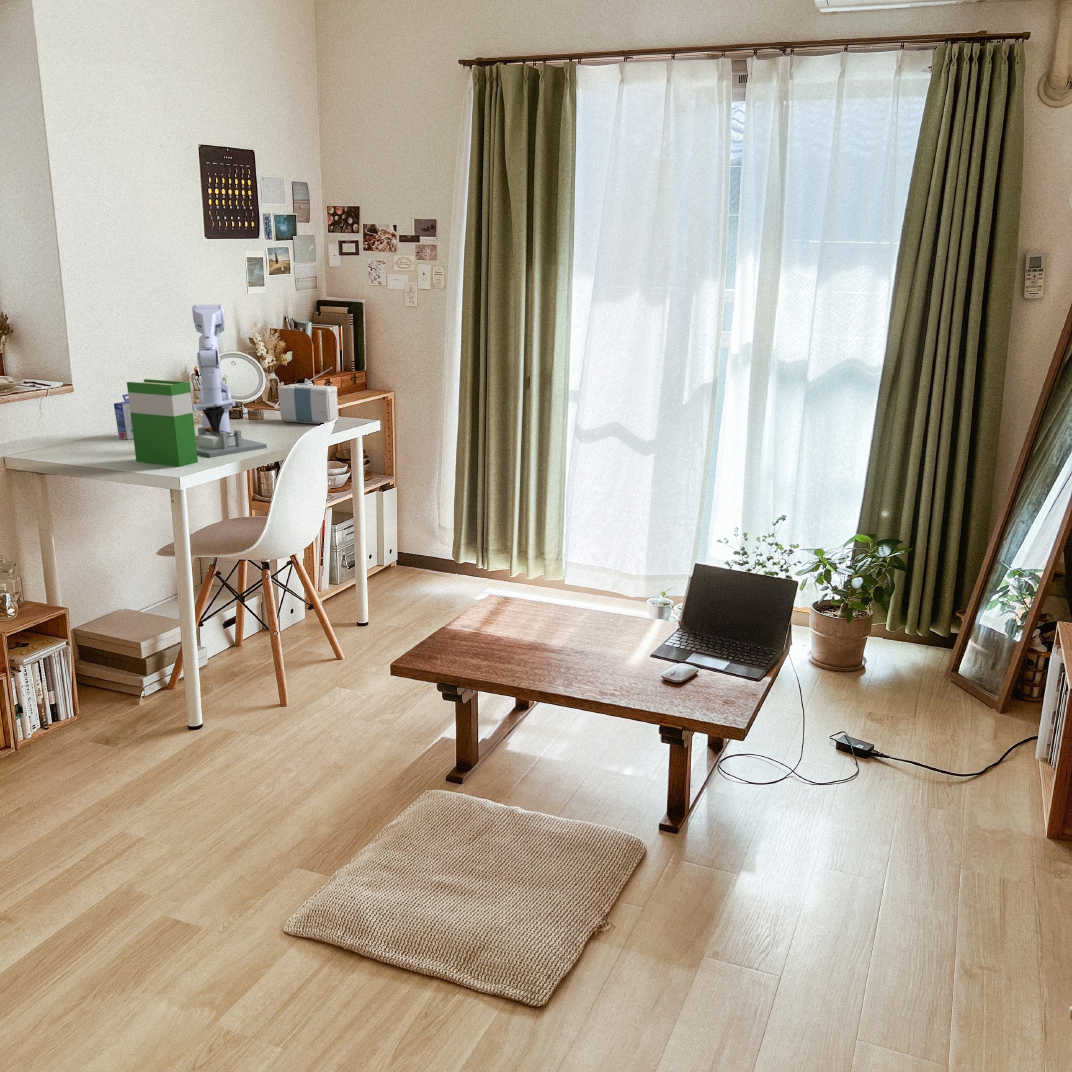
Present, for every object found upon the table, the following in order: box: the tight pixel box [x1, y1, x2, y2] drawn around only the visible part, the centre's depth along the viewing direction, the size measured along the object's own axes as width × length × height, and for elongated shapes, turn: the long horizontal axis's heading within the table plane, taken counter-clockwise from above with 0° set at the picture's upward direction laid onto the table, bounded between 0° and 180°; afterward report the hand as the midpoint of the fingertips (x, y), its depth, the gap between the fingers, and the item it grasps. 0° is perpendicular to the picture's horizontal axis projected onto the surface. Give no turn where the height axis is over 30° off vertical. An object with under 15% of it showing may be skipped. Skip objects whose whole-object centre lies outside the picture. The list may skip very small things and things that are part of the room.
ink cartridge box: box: [113, 393, 134, 440], centre depth 349 cm, size 10×6×14 cm, turn 146°
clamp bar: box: [205, 427, 236, 437], centre depth 329 cm, size 14×3×1 cm, turn 47°
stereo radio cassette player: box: [278, 366, 339, 425], centre depth 372 cm, size 21×8×20 cm, turn 67°
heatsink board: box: [196, 426, 268, 458], centre depth 330 cm, size 22×20×6 cm
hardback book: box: [126, 378, 199, 468], centre depth 307 cm, size 18×7×24 cm, turn 63°
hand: (215, 430), depth 330 cm, fingers closed, pressing on clamp bar
